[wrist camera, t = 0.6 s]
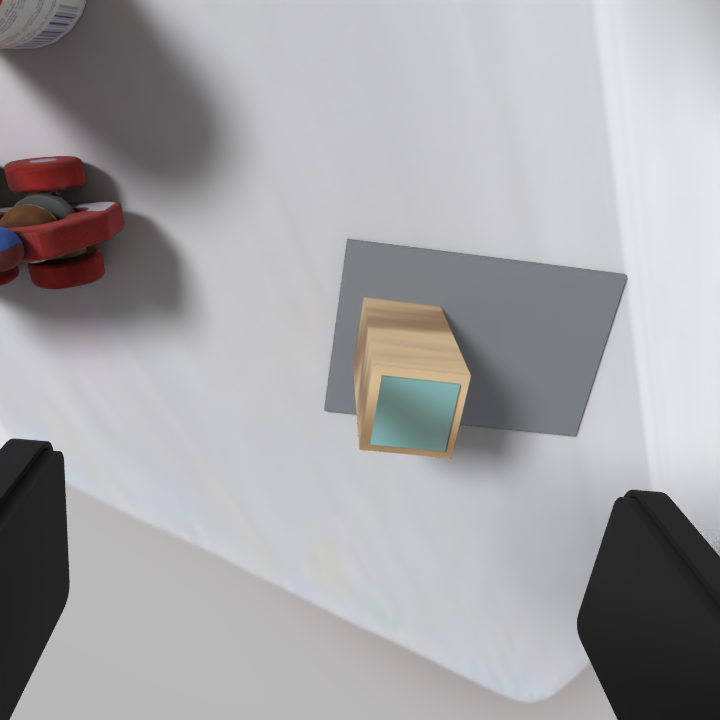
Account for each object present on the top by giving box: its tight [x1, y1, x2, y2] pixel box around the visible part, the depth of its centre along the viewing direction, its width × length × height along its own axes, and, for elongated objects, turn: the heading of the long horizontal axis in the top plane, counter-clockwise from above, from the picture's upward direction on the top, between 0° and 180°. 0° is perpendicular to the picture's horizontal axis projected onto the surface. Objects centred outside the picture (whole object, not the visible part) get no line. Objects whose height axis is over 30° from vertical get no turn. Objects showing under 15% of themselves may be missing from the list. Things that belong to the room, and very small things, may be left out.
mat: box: [324, 239, 627, 436], centre depth 44 cm, size 12×18×1 cm, turn 82°
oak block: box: [353, 297, 471, 458], centre depth 39 cm, size 5×5×10 cm
